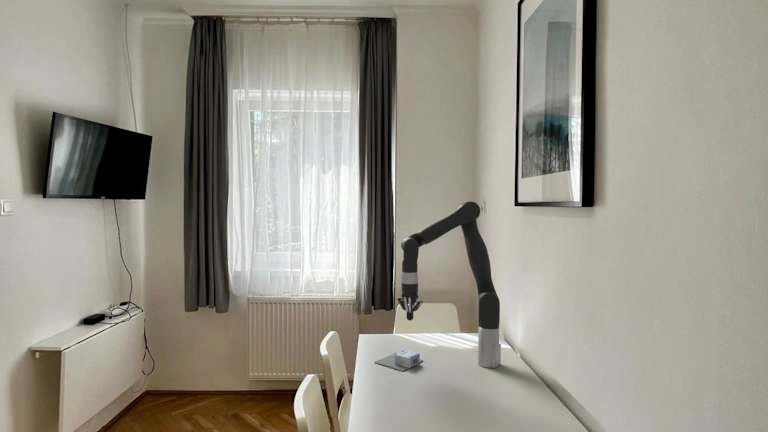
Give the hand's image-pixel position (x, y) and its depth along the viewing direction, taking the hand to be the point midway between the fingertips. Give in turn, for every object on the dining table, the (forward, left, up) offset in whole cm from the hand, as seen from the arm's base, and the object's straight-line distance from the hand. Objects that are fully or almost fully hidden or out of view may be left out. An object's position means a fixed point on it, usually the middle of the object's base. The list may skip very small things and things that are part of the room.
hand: (409, 320), depth 185 cm
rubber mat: (+6, 0, -21) cm, 22 cm away
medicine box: (-3, 0, -18) cm, 18 cm away
